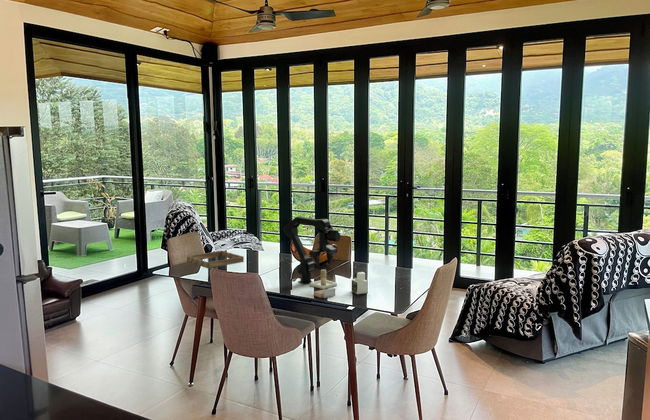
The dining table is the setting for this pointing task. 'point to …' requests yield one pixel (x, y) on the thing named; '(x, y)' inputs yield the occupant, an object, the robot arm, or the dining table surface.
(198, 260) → the frame
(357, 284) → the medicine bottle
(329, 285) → the tray
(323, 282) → the dowel
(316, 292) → the peach rectangular block
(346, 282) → the dining table surface
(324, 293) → the grey sanding sponge
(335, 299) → the dining table surface
